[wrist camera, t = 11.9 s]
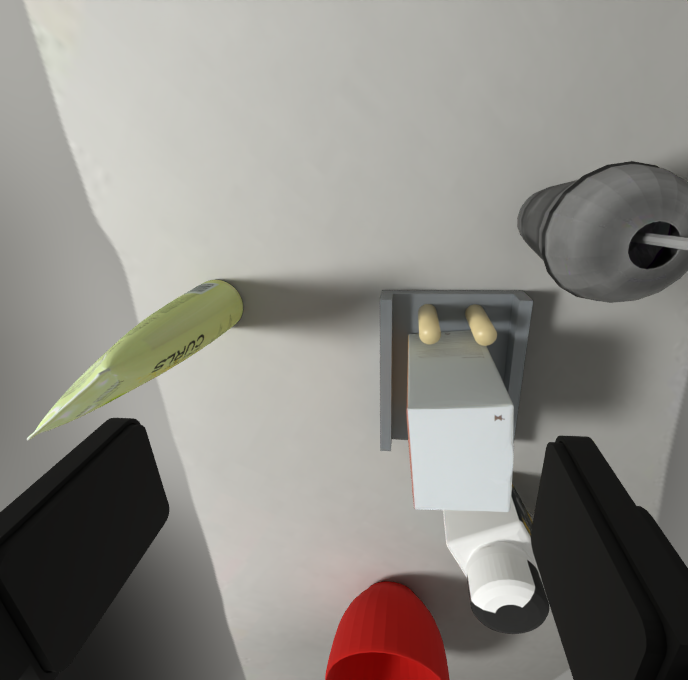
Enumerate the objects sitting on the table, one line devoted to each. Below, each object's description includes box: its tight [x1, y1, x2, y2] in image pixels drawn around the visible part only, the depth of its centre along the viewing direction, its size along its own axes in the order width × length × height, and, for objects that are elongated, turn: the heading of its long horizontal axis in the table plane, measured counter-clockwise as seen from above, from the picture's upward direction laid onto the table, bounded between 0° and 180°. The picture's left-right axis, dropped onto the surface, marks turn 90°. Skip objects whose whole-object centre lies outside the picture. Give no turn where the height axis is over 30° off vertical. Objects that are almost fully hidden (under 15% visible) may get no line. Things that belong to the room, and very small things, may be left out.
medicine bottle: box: [443, 485, 549, 634], centre depth 38 cm, size 7×7×12 cm
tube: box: [27, 280, 243, 440], centre depth 30 cm, size 6×5×20 cm
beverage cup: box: [518, 161, 688, 303], centre depth 23 cm, size 7×7×20 cm
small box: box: [406, 330, 514, 512], centre depth 31 cm, size 8×6×13 cm
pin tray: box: [380, 290, 533, 451], centre depth 35 cm, size 15×12×7 cm
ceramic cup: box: [325, 581, 449, 680], centre depth 47 cm, size 13×17×10 cm
